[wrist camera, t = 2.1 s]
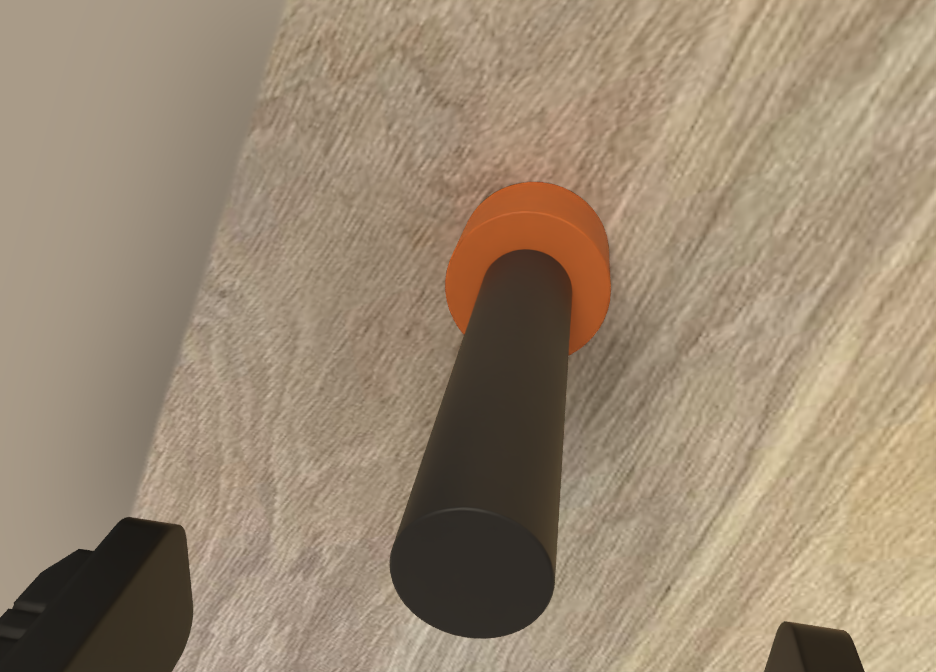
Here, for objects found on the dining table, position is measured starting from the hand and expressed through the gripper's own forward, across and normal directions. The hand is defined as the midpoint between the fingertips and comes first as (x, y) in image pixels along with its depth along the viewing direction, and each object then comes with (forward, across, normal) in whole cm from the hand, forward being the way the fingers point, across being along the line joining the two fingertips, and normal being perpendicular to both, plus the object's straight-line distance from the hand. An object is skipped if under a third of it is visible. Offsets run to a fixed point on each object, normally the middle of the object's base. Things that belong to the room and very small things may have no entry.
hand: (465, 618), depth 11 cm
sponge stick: (+15, 0, 0) cm, 15 cm away
